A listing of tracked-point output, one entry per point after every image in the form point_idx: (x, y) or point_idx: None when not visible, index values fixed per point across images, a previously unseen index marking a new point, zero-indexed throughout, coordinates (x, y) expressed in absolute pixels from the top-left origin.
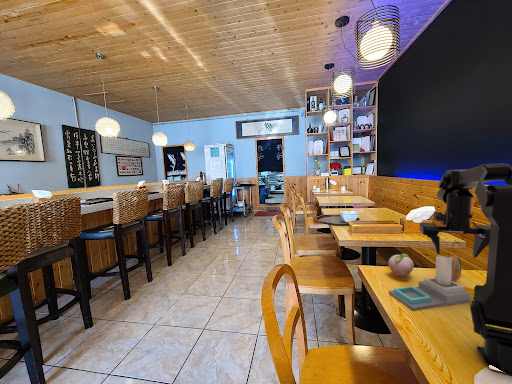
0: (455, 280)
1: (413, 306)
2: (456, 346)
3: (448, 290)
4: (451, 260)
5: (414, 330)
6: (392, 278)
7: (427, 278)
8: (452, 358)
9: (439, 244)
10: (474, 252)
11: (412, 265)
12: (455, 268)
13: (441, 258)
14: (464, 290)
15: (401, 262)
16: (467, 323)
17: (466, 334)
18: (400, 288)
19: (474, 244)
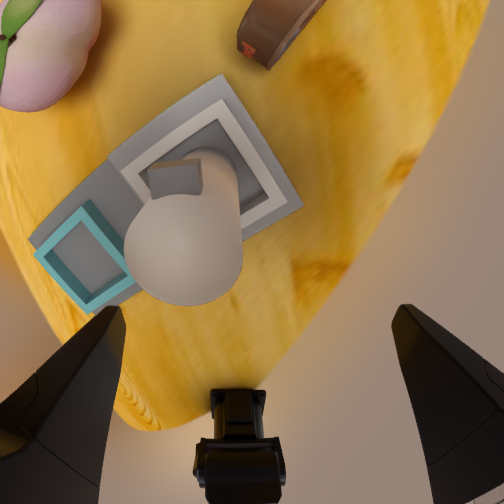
0: (320, 4)
1: (97, 310)
2: (178, 391)
3: None
4: (233, 281)
5: None
6: None
7: (135, 159)
8: (167, 409)
9: (102, 460)
10: (411, 356)
11: (81, 35)
12: None
13: (161, 267)
14: (289, 189)
15: (6, 101)
16: (226, 325)
17: (207, 361)
18: (49, 246)
19: (467, 387)
